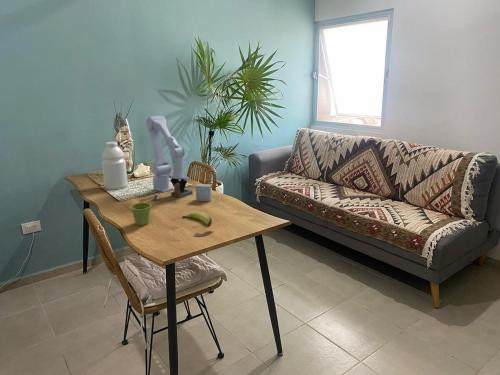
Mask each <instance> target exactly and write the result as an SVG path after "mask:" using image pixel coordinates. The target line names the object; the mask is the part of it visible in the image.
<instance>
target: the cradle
mask: <svg viewBox="0 0 500 375" xmlns="http://www.w3.org/2000/svg"><path fill="white" fill-rule="evenodd" d="M184 190H185V193H183V194H180V197H179V198H180V199H182V198H187V197H188V196H191V195H193V193H194V192H193V190H192V189H186V188H185V189H184ZM170 196H171V197H174V196H175V191H174V190H173V191H171V192H170Z"/></svg>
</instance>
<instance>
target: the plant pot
mask: <svg viewBox="0 0 500 375" xmlns="http://www.w3.org/2000/svg"><path fill="white" fill-rule="evenodd" d="M151 207H152V204H151V203H149V202H143V203H140V202H137V203H134V204H131V205H130V206H129V208H130V210H131V212H132V215H133V218H134V223H135V224H136V226H144V225H148V224H149V223H150V216H151V215H150V212H151Z"/></svg>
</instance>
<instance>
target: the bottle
mask: <svg viewBox="0 0 500 375" xmlns="http://www.w3.org/2000/svg"><path fill="white" fill-rule="evenodd" d="M105 146H106V147H104V149H103V150H102V153H101V156H100V157H101V158H102V161H101V168H102V177H103V183H104V184H103V186H104V188H105V189H106V190H111V191H112V190H113V191H116V190H122V189H125V188H128V186H129V182H128V174H127V162H126V159H124V156H125V153H124V151H123V150H122V149H121V148H120V147H119V144H118V142H117V141H107V142H105Z"/></svg>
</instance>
